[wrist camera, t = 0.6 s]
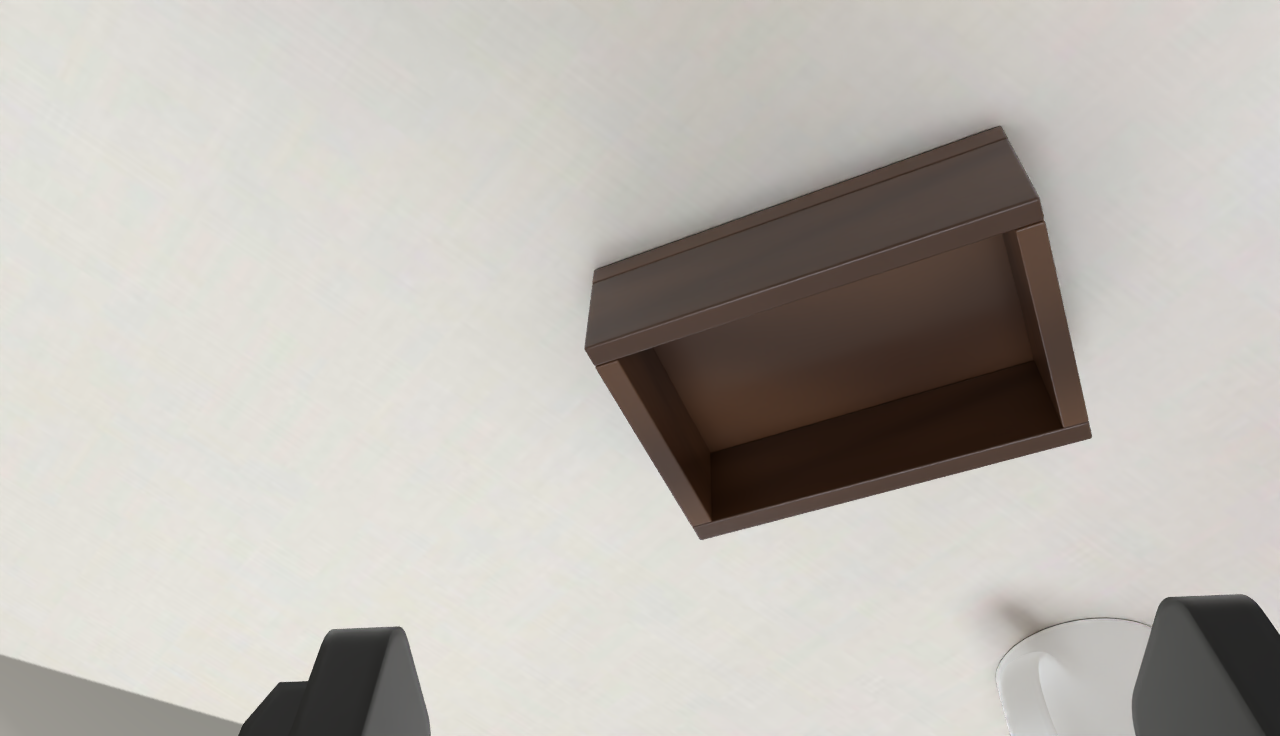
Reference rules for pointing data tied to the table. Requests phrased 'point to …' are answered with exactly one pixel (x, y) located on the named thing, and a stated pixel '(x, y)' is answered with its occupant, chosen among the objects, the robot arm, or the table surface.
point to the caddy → (845, 340)
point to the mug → (1073, 679)
